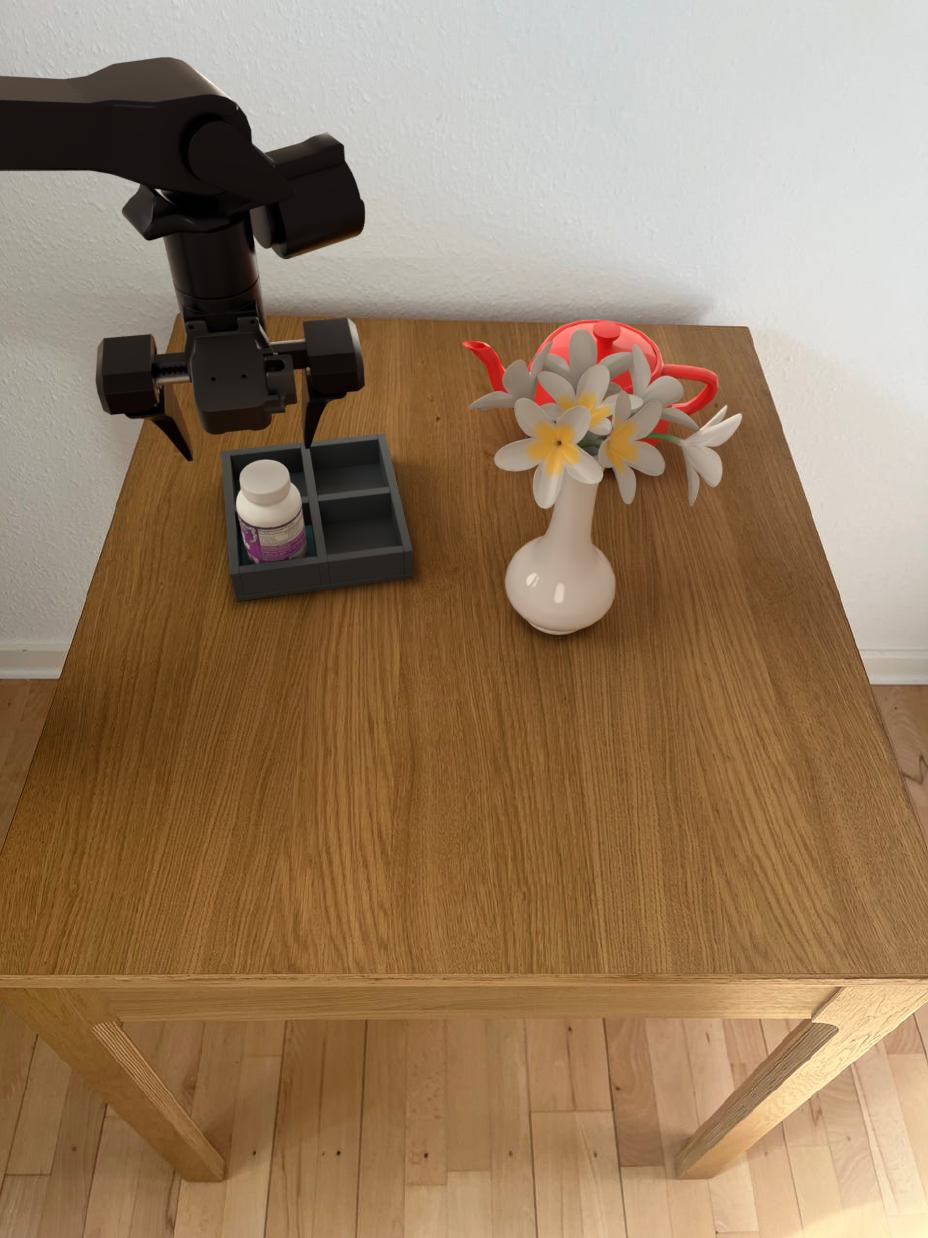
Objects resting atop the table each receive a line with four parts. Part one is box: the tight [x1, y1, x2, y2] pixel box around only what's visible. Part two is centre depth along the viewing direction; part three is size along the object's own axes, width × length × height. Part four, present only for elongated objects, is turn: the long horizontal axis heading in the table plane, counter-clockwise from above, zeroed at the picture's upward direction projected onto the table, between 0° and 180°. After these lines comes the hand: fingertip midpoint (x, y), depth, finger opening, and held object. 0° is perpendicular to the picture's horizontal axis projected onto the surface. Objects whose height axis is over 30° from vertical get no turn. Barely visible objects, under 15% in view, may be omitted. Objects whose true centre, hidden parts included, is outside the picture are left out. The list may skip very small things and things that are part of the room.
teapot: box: [461, 319, 720, 448], centre depth 92 cm, size 25×16×12 cm, turn 86°
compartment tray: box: [220, 433, 414, 602], centre depth 85 cm, size 15×15×4 cm
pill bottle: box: [236, 460, 308, 565], centre depth 79 cm, size 5×5×10 cm
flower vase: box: [467, 329, 743, 636], centre depth 72 cm, size 13×18×25 cm
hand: (249, 451), depth 75 cm, fingers open, 9 cm apart
